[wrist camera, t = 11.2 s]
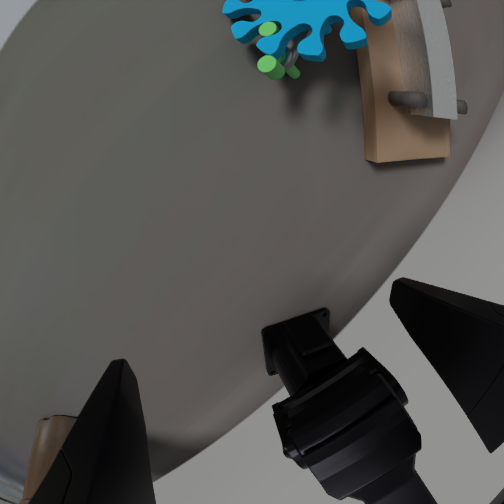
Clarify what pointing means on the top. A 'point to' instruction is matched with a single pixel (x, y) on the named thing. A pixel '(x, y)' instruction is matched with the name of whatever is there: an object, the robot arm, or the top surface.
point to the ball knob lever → (425, 55)
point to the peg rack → (394, 100)
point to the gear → (300, 29)
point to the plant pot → (45, 451)
